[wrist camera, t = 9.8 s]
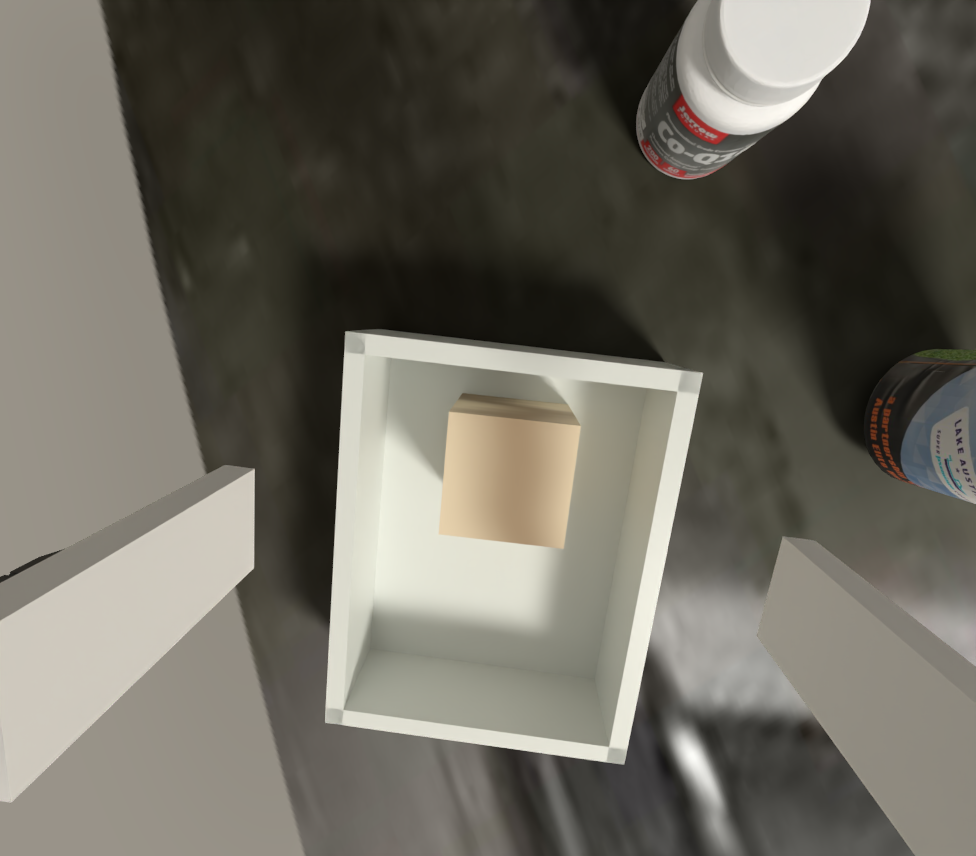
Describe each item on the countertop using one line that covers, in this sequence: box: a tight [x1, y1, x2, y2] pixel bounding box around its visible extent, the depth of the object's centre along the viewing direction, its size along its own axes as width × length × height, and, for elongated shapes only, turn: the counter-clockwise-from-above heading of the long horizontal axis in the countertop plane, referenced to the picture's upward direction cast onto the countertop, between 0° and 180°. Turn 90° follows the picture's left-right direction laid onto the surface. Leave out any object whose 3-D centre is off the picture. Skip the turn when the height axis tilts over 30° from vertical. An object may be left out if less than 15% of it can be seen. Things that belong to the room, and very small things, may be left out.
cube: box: [439, 393, 581, 549], centre depth 22 cm, size 5×5×5 cm
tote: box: [325, 329, 703, 764], centre depth 24 cm, size 18×14×5 cm
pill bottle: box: [636, 0, 870, 179], centre depth 18 cm, size 5×5×8 cm
